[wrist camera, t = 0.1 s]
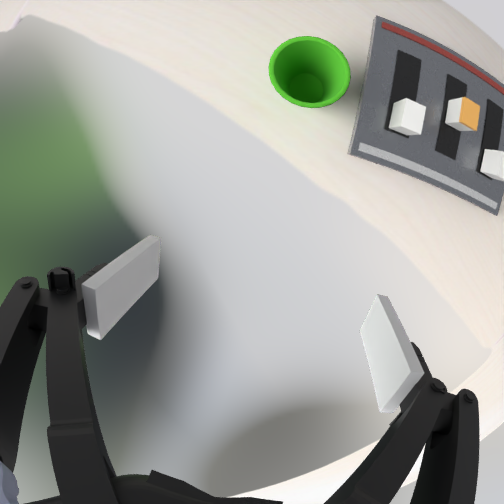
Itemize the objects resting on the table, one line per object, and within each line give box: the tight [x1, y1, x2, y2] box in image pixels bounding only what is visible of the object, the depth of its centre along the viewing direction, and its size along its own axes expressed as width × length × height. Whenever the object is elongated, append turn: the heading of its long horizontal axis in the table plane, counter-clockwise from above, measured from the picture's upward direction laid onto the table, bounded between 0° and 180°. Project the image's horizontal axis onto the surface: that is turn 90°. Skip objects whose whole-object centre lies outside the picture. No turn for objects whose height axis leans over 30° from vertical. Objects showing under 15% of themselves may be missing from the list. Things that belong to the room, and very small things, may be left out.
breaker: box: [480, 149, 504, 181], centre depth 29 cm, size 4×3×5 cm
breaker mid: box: [445, 97, 480, 131], centre depth 28 cm, size 4×3×5 cm
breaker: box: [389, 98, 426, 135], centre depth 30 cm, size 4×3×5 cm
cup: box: [269, 36, 351, 108], centre depth 30 cm, size 9×9×11 cm
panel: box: [348, 16, 504, 216], centre depth 32 cm, size 24×30×2 cm
